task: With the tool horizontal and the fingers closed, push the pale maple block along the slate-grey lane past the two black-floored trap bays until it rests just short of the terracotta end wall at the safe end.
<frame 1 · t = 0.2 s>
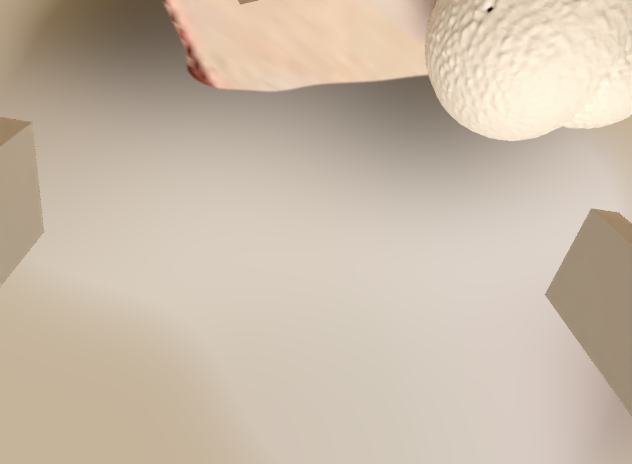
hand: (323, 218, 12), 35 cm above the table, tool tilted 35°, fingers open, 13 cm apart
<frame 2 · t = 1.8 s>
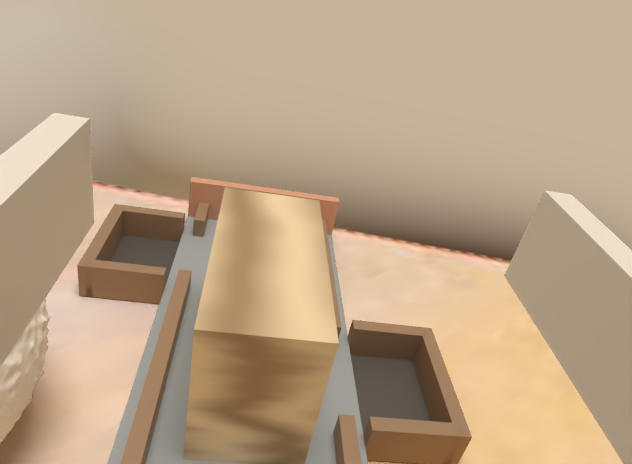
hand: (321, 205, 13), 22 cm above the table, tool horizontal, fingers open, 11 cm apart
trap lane: (252, 334, 40), on the table
maple block: (251, 366, 35), point 1 cm above the table, touching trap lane
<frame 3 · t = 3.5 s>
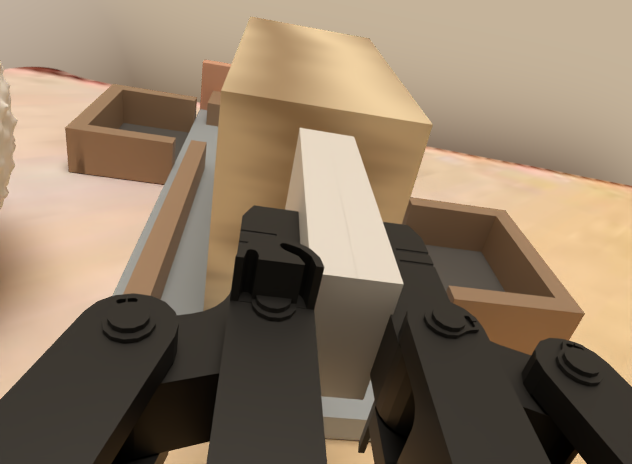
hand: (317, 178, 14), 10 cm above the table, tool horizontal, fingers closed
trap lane: (282, 218, 32), on the table
maple block: (285, 240, 28), point 1 cm above the table, touching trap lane
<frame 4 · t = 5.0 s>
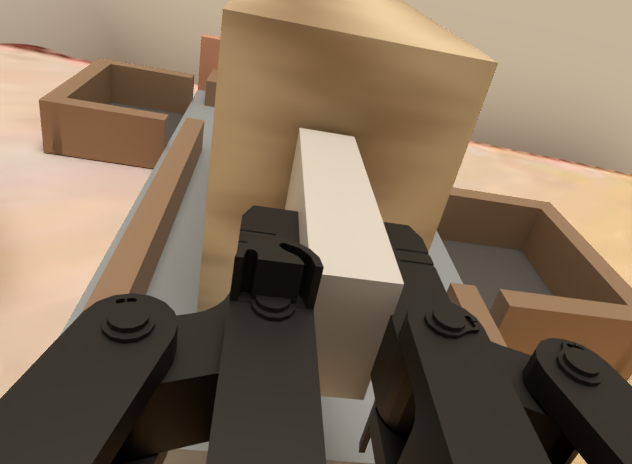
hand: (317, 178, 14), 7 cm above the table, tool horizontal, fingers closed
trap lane: (291, 209, 28), on the table
maple block: (295, 225, 24), point 1 cm above the table, touching gripper, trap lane
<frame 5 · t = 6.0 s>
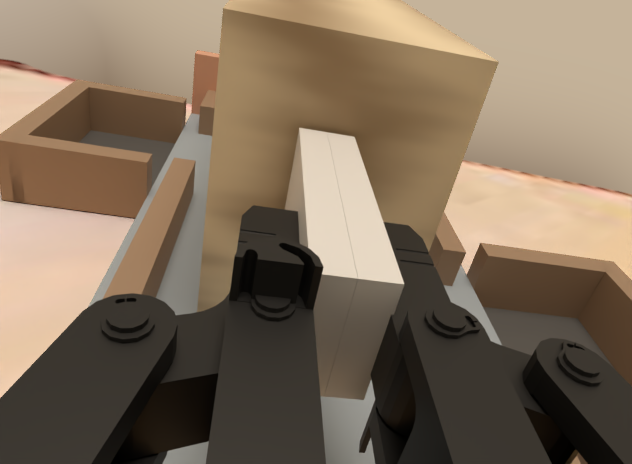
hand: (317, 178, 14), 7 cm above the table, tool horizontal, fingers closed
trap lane: (300, 269, 23), on the table
maple block: (294, 225, 24), point 1 cm above the table, touching gripper
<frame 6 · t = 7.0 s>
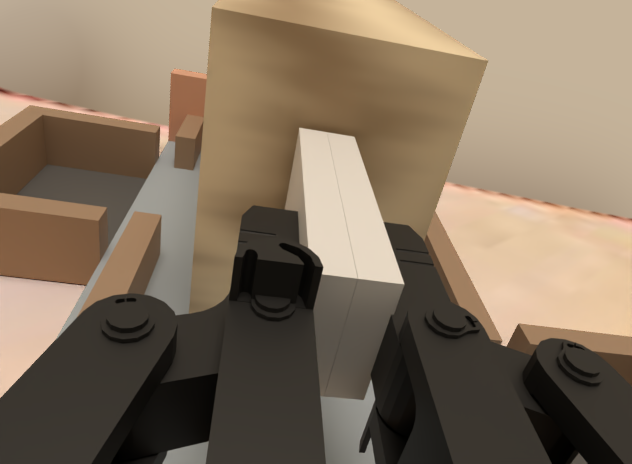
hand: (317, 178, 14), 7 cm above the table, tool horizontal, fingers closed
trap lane: (291, 353, 18), on the table
maple block: (288, 225, 24), point 1 cm above the table, touching gripper, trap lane
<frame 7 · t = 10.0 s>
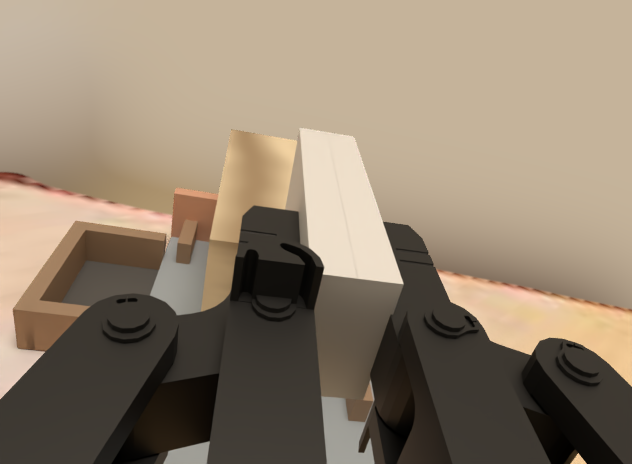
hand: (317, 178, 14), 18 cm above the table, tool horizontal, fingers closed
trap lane: (251, 404, 29), on the table
maple block: (256, 307, 35), point 1 cm above the table, touching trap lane
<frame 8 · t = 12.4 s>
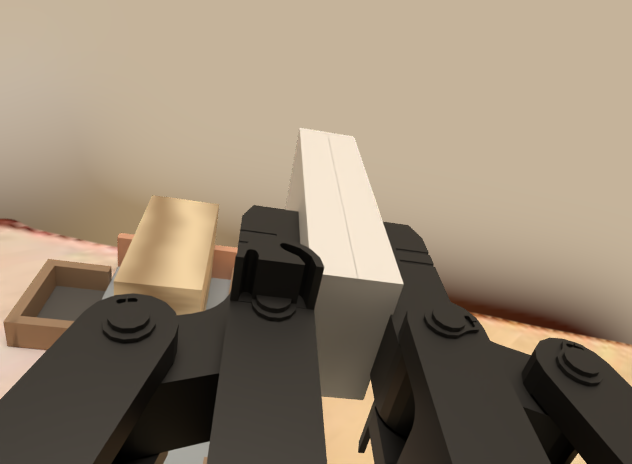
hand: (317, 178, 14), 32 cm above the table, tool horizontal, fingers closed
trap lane: (155, 380, 46), on the table
maple block: (169, 317, 52), point 1 cm above the table, touching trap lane
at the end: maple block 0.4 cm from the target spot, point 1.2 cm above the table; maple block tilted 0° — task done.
